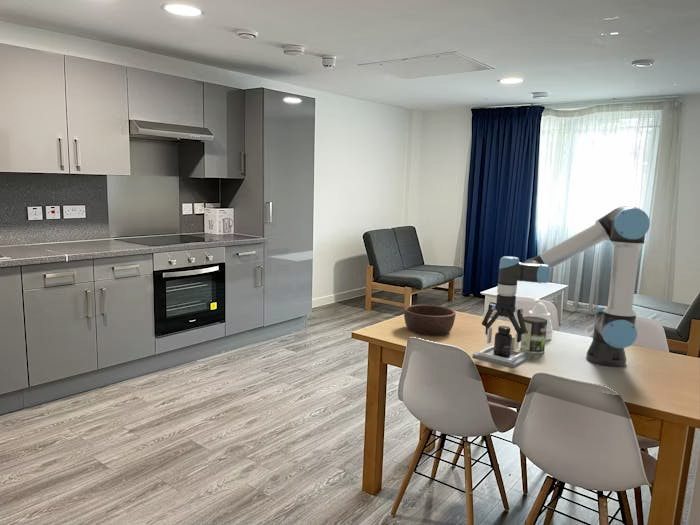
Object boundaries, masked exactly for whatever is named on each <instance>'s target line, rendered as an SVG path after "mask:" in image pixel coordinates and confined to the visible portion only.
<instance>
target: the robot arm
mask: <svg viewBox="0 0 700 525" xmlns="http://www.w3.org/2000/svg"><path fill="white" fill-rule="evenodd" d="M650 224H651V221H650V218H649V216H648V214H647V213H646V212H645V211H644V210H642V209H641V208H640V207H639V208H638V207H636V206H620V207H616V208H614V209H613V210H612V211H609V212H608V213H607V214H605V215H604V216H602V217H600V218H599V219H597V220H595V223H594V224H593V225H591V226H590V227H588V228H586V229H584V230H582V231H580V232H578V233H576V234H575V235H573V236H571V237H569V238H567V239H566V240H564V241H561V242H560V243H558V244H557V245H555V246H552V247H551V248H548V249H547V250H545V251H544V252H542V253H540V254H538V255H536V256H534V257H532V258H528V259H527V260H525V261H524V262H520V258H519V257H516V256H510V255H509V256H508V255H507V256H506V255H505V256H502V257H501V258H500V260H499V267H498V278H497V281H498V282H497V291H496V292H497V294H496V300H495V301H496V303H495V304H494V303H489V304H488V308H487V312H486V314H485V316H484V318H483V320H482V321H481V325H482V326H483V327H484V328H485V335H486V344H491V343H492V338H493V336H492V335H493V327H492V325H493V324H494V323H495V322H496V321H497V319H499V317H504V318H507V319H509V320H510V322H511V324H512V326H513V327H514V331H515V332H516V333H515V334H514V336H515V341H514V350H519V344H520V343H521V337H522V334H525V333H526V332H527V330H526V326H525V323H524V319H523V317H524V315H523V311H524V310H523V308H516V301H517V296H516V294H517V291H518V288H517V287H518V282H528V283H536V284H548V283H549V280H550V277H551V276H550V275H551V269H553V268H555V267H557V266H558V265H561V264H563V263H564V262H566V261H569V260H570V259H572V258H574V257H576V256H578V255H580V254H581V253H584V252H585V251H588V250H589V249H591V248H593V247H594V246H597V245H598V244H600V243H602V242H604V241H608V242H610V243H611V244H612V245H613V251H612V252H613V254H612V263H611V271H610V272H611V273H610V280H609V281H610V282H609V290H608V291H609V292H608V301H607V306H603V305H601V306H600V305H599V306H597V307H596V308H595V309H596V310H595V312H594V314H595V316H594V323H593V324H594V325H593V332H592V340H591V344H590V345H589V347H588V350H587V351H586V356H585V357H586V360H588V361H590V362H592V363H594V364H598V365H603V366H607V367H625V366H626V365H627V354H626V352H625V351H626V350H625V348H629V347H630V346H632V345H633V344H634V343H635V342H636V340H637V337H638V330H637V327H636V321H637V320H636V319H637V313H636V312H635V311H634V309H633V306H634V297H635V288H636V280H637V272H638V261H639V255H640V254H639V252H640V248H641V247H642V246H643V245H644V244H645V241H646V234H647V232H649V229H650ZM494 310H496V312H495V313H494V315H493V316H492V313H493V312H494ZM515 314H516V316H517V319H516V316H515ZM491 316H492V318H491ZM517 320H518V321H517Z"/></svg>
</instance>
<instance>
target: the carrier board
mask: <svg viewBox="0 0 700 525" xmlns="http://www.w3.org/2000/svg"><path fill="white" fill-rule="evenodd" d="M514 341H515V335H512V344H511V353H510V356H509V357H500V356H496V355H494V344H492V345H490V346H488V347H486V348H483V349H481V350H479V351H477V352H474V353H472V358H474V359H479V360H484V361H486V360H487V362H492V363H495V364H498V365H503V366H506V367H510V368H516V367H518V366H519V365H520V366H521V364H523V363H524V361H525V362H527V361H529V360H530V359H532V358H533V357H534V355H535V354H534V353H528V352H524V351H522V350H519V349H517V350H514ZM526 360H527V361H526Z"/></svg>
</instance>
